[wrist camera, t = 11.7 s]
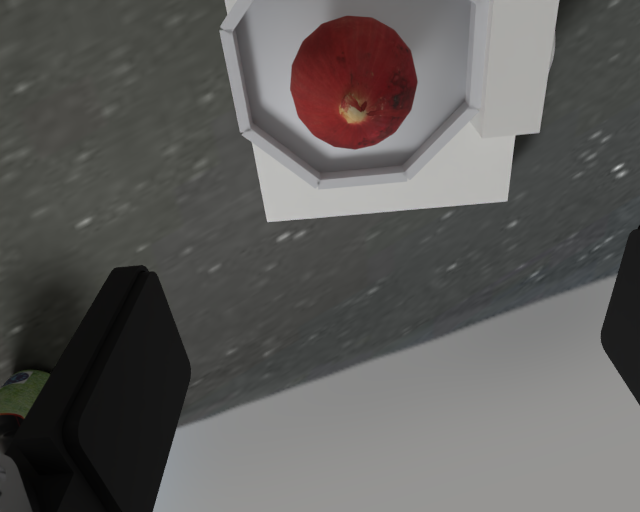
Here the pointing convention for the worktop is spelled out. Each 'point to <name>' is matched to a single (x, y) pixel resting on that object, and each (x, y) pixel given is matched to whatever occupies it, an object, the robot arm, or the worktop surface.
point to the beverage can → (18, 402)
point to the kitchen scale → (420, 124)
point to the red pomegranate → (353, 82)
